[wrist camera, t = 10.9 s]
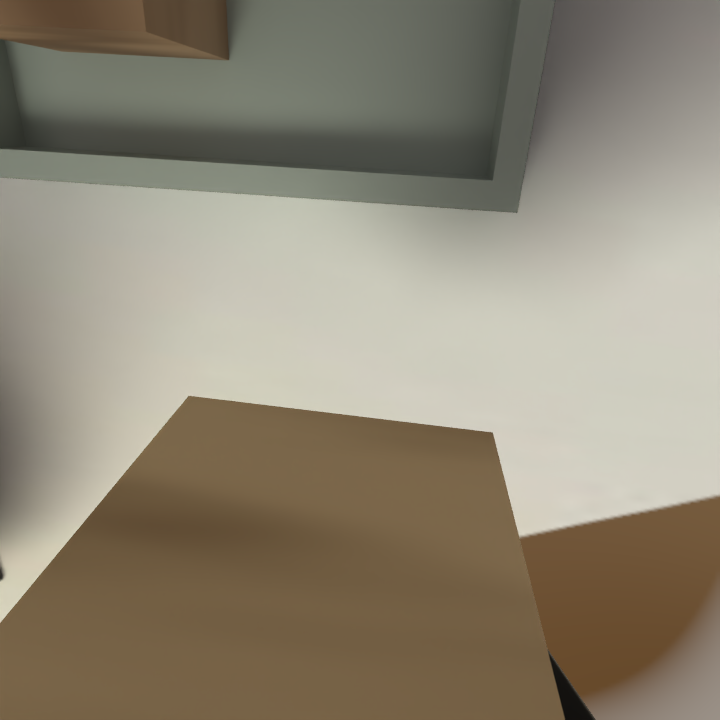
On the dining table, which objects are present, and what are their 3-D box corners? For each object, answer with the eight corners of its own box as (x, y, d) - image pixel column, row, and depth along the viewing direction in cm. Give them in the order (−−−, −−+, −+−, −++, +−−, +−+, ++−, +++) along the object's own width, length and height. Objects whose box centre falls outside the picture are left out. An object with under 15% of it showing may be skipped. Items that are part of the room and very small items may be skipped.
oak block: (445, 640, 10) (469, 1044, 6) (203, 606, 11) (46, 965, 6) (492, 432, 8) (589, 815, 4) (188, 395, 8) (-71, 709, 4)
